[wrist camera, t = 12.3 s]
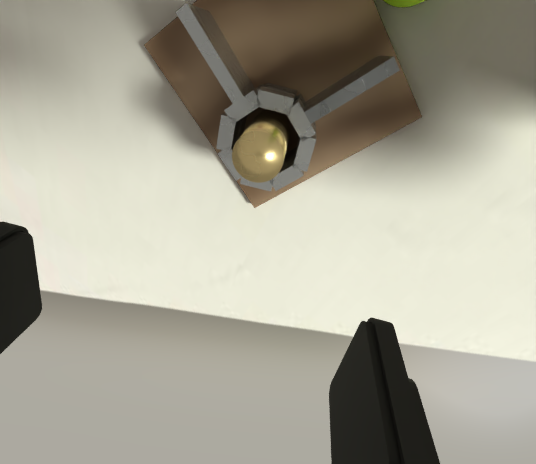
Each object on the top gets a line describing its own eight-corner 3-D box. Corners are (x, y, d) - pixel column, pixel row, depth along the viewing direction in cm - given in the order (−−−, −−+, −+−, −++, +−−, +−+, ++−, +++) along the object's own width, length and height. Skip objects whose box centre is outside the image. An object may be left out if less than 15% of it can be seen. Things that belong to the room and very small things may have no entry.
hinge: (399, 102, 30) (417, 112, 25) (260, 181, 35) (251, 204, 30) (320, -79, 25) (322, -114, 20) (171, 43, 30) (141, 41, 25)
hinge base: (419, 115, 31) (422, 117, 30) (255, 204, 37) (254, 207, 36) (326, -105, 25) (327, -110, 24) (148, 45, 31) (143, 45, 30)
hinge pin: (298, 134, 32) (293, 166, 24) (266, 154, 34) (250, 191, 25) (278, 100, 31) (265, 120, 22) (245, 121, 32) (221, 148, 24)
